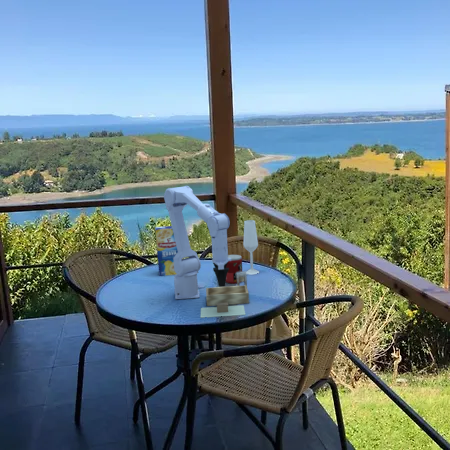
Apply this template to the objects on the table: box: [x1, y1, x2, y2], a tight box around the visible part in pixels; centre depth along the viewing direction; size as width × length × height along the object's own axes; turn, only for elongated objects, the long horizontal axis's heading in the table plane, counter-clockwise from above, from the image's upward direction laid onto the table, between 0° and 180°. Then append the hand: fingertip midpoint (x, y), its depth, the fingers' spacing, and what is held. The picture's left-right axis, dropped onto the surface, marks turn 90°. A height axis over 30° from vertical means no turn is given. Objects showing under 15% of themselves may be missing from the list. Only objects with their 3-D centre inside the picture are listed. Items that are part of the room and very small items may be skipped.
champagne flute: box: [242, 219, 260, 275], centre depth 232 cm, size 7×7×24 cm
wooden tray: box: [205, 284, 250, 307], centre depth 197 cm, size 16×10×4 cm, turn 92°
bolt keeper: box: [236, 270, 248, 286], centre depth 207 cm, size 4×4×8 cm
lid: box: [200, 302, 246, 319], centre depth 186 cm, size 16×10×4 cm, turn 92°
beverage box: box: [154, 225, 178, 277], centre depth 239 cm, size 7×11×22 cm, turn 98°
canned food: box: [226, 254, 243, 285], centre depth 222 cm, size 8×8×11 cm
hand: (221, 283), depth 189 cm, fingers open, 7 cm apart
